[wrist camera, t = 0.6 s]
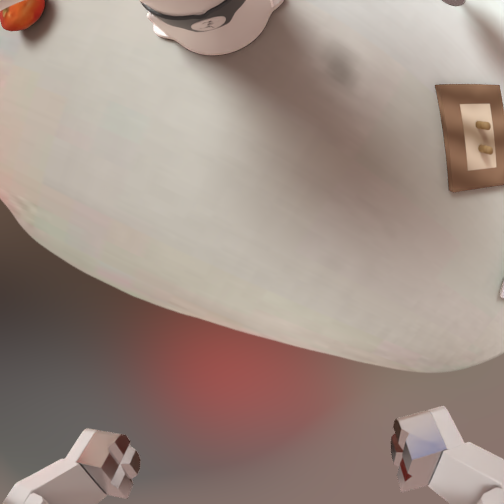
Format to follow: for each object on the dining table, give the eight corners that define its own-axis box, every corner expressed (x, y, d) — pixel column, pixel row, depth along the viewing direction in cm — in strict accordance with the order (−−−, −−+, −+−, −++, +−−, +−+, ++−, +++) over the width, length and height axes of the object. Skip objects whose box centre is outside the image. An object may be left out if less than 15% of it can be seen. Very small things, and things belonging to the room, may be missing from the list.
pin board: (434, 85, 35) (447, 83, 31) (494, 85, 33) (509, 84, 29) (448, 190, 41) (461, 196, 37) (504, 181, 39) (518, 188, 35)
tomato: (57, 8, 34) (28, 0, 27) (24, 43, 37) (-5, 40, 29) (45, -18, 31) (18, -27, 24) (14, 15, 34) (-14, 10, 26)
